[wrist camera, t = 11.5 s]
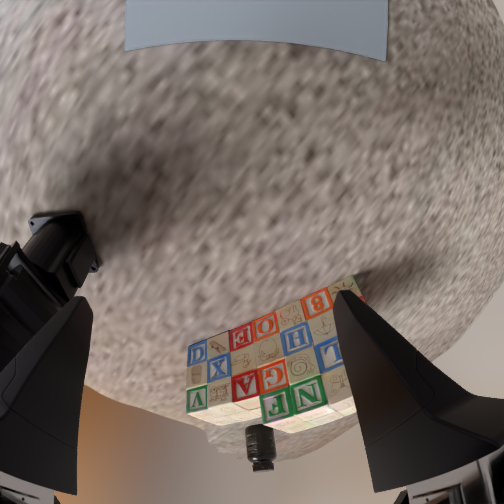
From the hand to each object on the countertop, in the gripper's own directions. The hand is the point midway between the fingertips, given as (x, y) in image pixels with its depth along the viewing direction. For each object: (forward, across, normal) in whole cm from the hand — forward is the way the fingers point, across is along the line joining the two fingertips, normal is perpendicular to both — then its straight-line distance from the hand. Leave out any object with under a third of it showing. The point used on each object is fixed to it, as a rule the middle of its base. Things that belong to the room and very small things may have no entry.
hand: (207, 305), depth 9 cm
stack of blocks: (+13, -6, +19) cm, 24 cm away
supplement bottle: (+13, -6, +62) cm, 64 cm away
